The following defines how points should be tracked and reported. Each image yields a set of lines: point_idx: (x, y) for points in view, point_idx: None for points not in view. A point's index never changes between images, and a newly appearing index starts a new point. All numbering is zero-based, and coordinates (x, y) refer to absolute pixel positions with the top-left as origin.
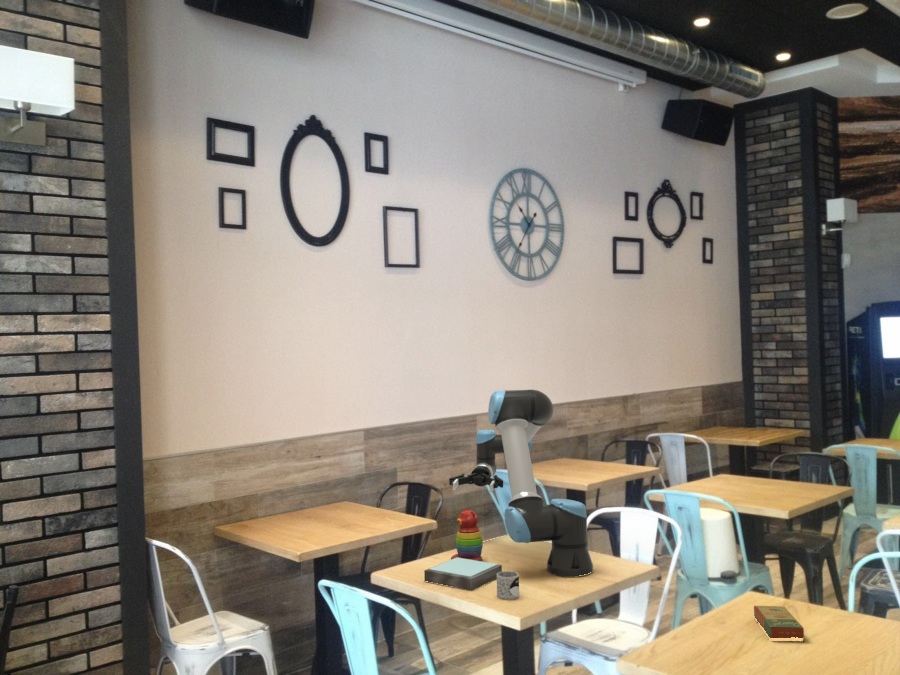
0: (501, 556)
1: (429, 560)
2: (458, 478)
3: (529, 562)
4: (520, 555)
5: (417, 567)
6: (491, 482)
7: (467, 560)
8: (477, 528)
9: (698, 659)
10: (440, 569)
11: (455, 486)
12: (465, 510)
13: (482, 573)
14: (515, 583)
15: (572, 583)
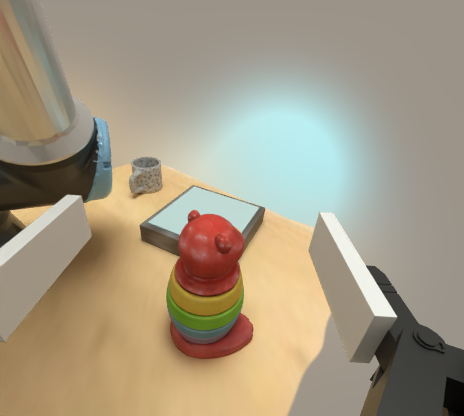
0: (104, 386)
1: (305, 328)
2: (414, 379)
3: (43, 324)
4: (29, 406)
5: (305, 279)
6: (37, 233)
7: None
8: (180, 257)
9: None
10: (241, 205)
11: (318, 245)
12: (222, 233)
13: (177, 198)
14: (139, 165)
15: (33, 215)
